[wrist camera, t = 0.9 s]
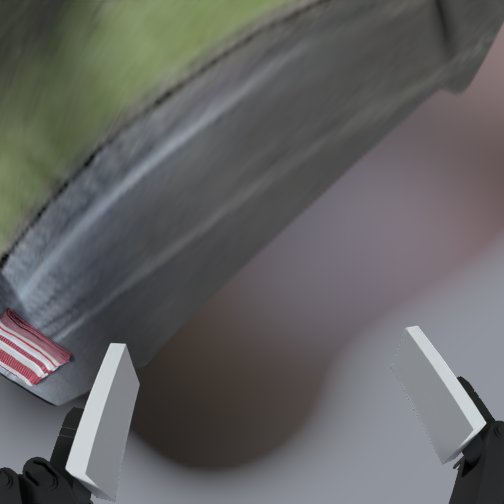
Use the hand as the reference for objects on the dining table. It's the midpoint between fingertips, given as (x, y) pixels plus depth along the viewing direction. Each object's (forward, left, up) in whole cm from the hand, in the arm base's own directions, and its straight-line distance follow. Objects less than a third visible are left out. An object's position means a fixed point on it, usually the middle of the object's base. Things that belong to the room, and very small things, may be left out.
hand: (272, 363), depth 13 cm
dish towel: (+38, -43, -28) cm, 64 cm away
